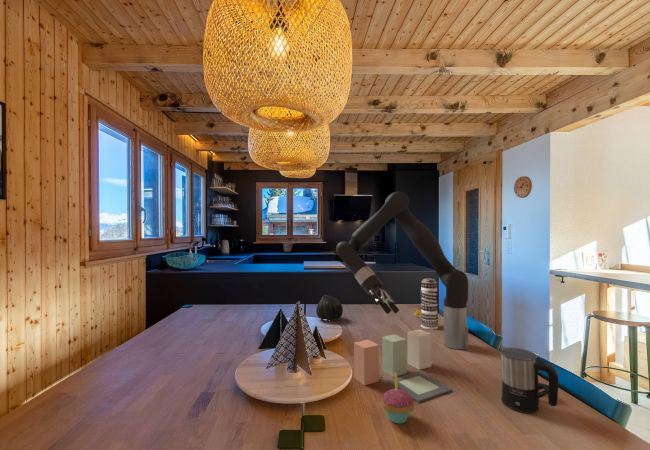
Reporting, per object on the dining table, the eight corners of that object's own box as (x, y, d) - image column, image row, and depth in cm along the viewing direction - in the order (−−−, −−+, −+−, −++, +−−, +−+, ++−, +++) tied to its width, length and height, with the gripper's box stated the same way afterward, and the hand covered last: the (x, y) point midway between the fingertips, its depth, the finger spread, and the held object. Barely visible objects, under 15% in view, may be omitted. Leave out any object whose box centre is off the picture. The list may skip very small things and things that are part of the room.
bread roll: (426, 320, 175) (425, 313, 175) (412, 316, 182) (412, 310, 182) (433, 317, 181) (433, 310, 181) (420, 314, 187) (420, 307, 188)
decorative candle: (440, 325, 164) (440, 278, 164) (436, 330, 156) (435, 280, 157) (423, 323, 169) (422, 277, 169) (418, 327, 161) (417, 279, 161)
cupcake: (378, 410, 87) (378, 367, 87) (407, 408, 88) (407, 365, 88) (387, 429, 79) (386, 381, 79) (419, 427, 79) (419, 380, 80)
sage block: (382, 370, 112) (382, 336, 112) (395, 366, 115) (395, 334, 115) (393, 377, 107) (392, 342, 107) (406, 373, 109) (406, 339, 110)
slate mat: (387, 382, 103) (387, 380, 103) (419, 373, 109) (419, 371, 110) (418, 402, 91) (418, 400, 91) (451, 391, 97) (451, 389, 97)
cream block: (407, 363, 118) (407, 331, 118) (419, 360, 120) (419, 329, 121) (419, 369, 112) (418, 336, 112) (431, 366, 115) (431, 333, 115)
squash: (350, 311, 172) (339, 289, 181) (328, 317, 164) (317, 293, 172) (339, 324, 181) (329, 301, 189) (318, 330, 173) (308, 306, 181)
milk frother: (503, 410, 87) (503, 356, 87) (494, 383, 102) (493, 338, 102) (565, 420, 82) (564, 363, 82) (545, 391, 97) (544, 343, 97)
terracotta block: (354, 377, 107) (354, 342, 107) (368, 373, 109) (368, 339, 110) (364, 385, 101) (363, 348, 101) (379, 381, 104) (378, 345, 104)
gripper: (367, 272, 121) (394, 306, 112) (381, 275, 132) (406, 305, 124) (354, 285, 123) (379, 319, 114) (369, 286, 134) (393, 317, 126)
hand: (393, 312), depth 119 cm, fingers open, 8 cm apart
